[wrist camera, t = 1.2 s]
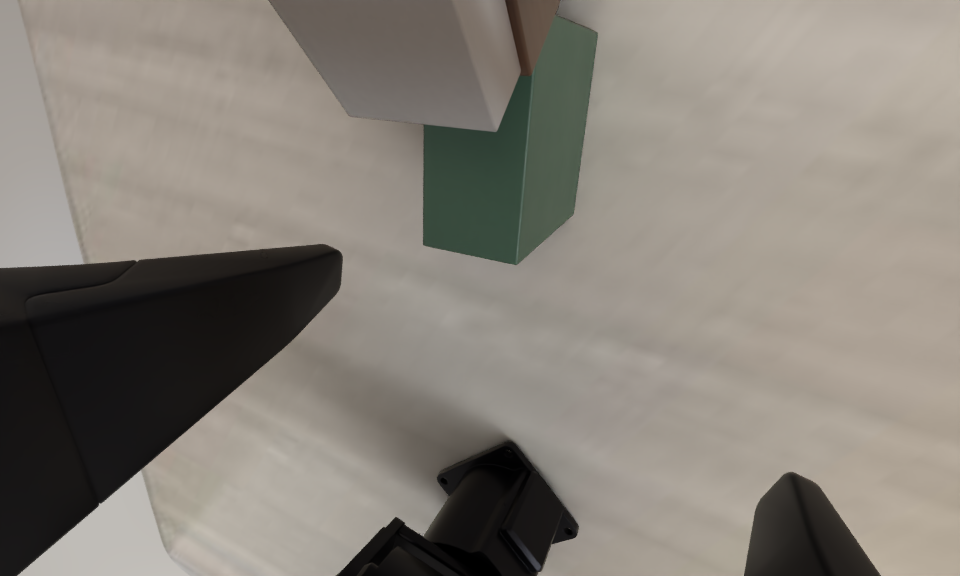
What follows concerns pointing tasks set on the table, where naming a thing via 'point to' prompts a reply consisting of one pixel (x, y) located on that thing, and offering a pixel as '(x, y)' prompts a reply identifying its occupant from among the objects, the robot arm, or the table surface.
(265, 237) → the table surface
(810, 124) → the table surface
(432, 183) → the green block
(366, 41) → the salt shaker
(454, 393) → the table surface
